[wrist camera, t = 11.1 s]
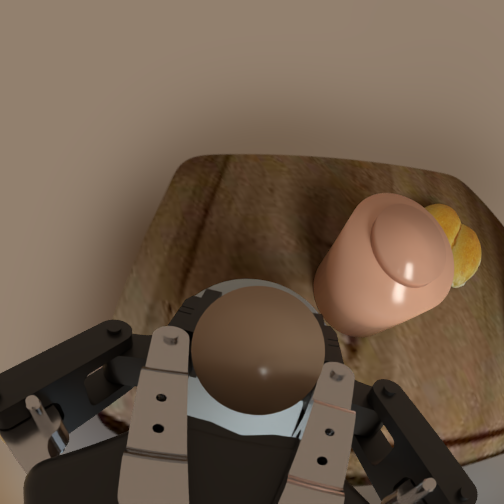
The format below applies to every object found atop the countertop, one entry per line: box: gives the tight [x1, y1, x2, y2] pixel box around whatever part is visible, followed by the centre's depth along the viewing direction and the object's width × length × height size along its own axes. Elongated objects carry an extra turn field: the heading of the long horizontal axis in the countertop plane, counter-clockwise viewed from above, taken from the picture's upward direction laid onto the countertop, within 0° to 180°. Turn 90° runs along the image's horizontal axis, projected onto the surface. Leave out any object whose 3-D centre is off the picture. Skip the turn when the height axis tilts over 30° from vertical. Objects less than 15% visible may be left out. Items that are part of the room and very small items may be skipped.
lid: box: [187, 279, 326, 437], centre depth 12 cm, size 9×9×8 cm
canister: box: [313, 193, 454, 337], centre depth 18 cm, size 8×8×9 cm
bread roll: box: [425, 204, 481, 288], centre depth 23 cm, size 8×9×4 cm
